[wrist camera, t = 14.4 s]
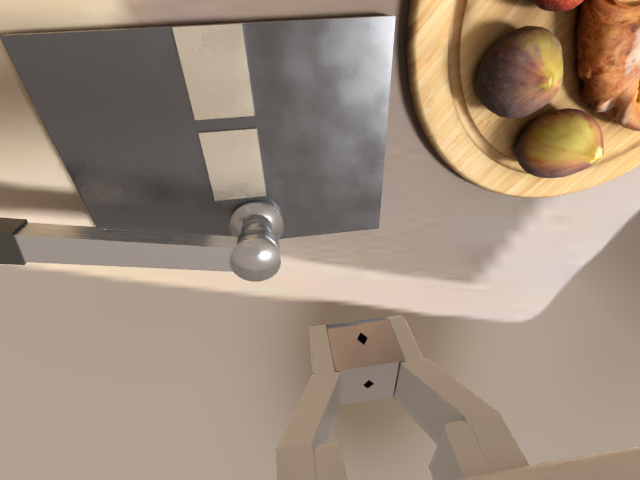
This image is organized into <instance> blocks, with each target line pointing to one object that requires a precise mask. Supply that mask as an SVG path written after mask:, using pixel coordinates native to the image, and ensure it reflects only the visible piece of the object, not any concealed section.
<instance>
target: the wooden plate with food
mask: <svg viewBox="0 0 640 480" xmlns="http://www.w3.org/2000/svg"><path fill="white" fill-rule="evenodd" d="M406 56H407V68H408V81H409V86H410V92H411V98H412V102H413V105H414V109H415V112H416V115H417V118H418V120H419V123H420V125H421V127H422V129H423V131H424V133H425V135H426V137H427V139H428V141H429V142H430V144H431V145H432V147H433V148H434V150H435V151H436V152H437V154H438V155H439V156H440V157H441V159H442V160H443V161H444V162H445V163H446V164H447V165H448V166H449V167H450V168H451V169H452V170H453V171H455V172H456V173H457V174H459V175H460V176H461V177H463V178H464V179H466V180H467V181H468V182H470V183H472V184H474V185H476V186H478V187H480V188H483V189H485V190H488V191H491V192H495V193H499V194H503V195H507V196H514V197H525V198H539V197H552V196H559V195H565V194H569V193H572V192H576V191H580V190H584V189H587V188H590V187H593V186H595V185H598V184H601V183H604V182H606V181H609V180H611V179H614V178H616V177H618V176H620V175H622V174H624V173H626V172H628V171H630V170H632V169H634V168H636V167H638V166H640V0H410V5H409V14H408V24H407V51H406Z"/></svg>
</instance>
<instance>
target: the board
mask: <svg viewBox="0 0 640 480" xmlns="http://www.w3.org/2000/svg"><path fill="white" fill-rule="evenodd" d="M395 17H396V16H392V15H380V16H360V17H340V18H320V19H300V20H280V21H260V22H240V23H220V24H200V25H179V26H159V27H139V28H119V29H99V30H79V31H59V32H39V33H19V34H9V35H2V36H0V37H1V39H2V41H3V43H4V45H5V47H6V49H7V51H8V53H9V55H10V57H11V59H12V61H13V63H14V65H15V67H16V69H17V71H18V73H19V75H20V77H21V79H22V81H23V83H24V85H25V87H26V89H27V91H28V93H29V95H30V97H31V99H32V101H33V102H34V104H35V106H36V108H37V110H38V112H39V114H40V116H41V118H42V120H43V122H44V124H45V126H46V128H47V130H48V132H49V134H50V136H51V138H52V140H53V142H54V144H55V146H56V148H57V150H58V152H59V154H60V156H61V158H62V160H63V162H64V164H65V166H66V168H67V170H68V172H69V174H70V175H71V177H72V179H73V181H74V183H75V185H76V187H77V189H78V191H79V193H80V195H81V197H82V199H83V201H84V203H85V205H86V207H87V209H88V211H89V213H90V215H91V217H92V219H93V221H94V223H95V225H96V227H100V228H115V229H130V230H144V231H159V232H174V233H189V234H204V235H219V236H233V237H237V236H238V235H240V234H241V233H243V232H245V231H248V230H254V229H258V230H264V231H267V232H269V233H271V234H272V235H273V236H274V237H275V238H276V239H277V240H279V239H282V238H292V237H301V236H310V235H320V234H329V233H339V232H348V231H358V230H367V229H376V228H379V219H380V207H381V194H382V181H383V169H384V156H385V144H386V131H387V118H388V106H389V93H390V81H391V68H392V55H393V43H394V30H395Z"/></svg>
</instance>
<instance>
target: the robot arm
mask: <svg viewBox="0 0 640 480" xmlns="http://www.w3.org/2000/svg"><path fill="white" fill-rule="evenodd" d="M309 332H310V348H311V358H312V368H313V374H314V375H312V376H311V378H310V380H309V382H308V384H307V386H306V389H305V390H304V392H303V394H302V397H301V399H300V401H299V403H298V405H297V407H296V409H295V411H294V413H293V415H292V418H291V419H290V422H289V424H288V426H287V428H286V430H285V432H284V434H283V436H282V439H281V441H280V442H279V445H278V447H277V449H276V462H277V480H347V478H346V472H345V467H344V461H343V456H342V451H341V446H340V445H338V444H337V443H336V442H329V439H330V436H331V433H332V430H333V427H334V425H335V422H336V419H337V416H338V412H339V410H340V405H346V404H350V403H356V402H362V401H368V400H375V399H383V398H391V397H394V399H395V400H396V402H398V404H399V405H400V406H401V407H402V408H403V409H404V410H405V411H406V412H407V413H408V414H409V415H410V416H411V417H412V419H413V420H414V421H415V422H416V423H417V424H418V425H419V426H420V427H421V428H422V429H423V430H424V431H425V432H426V433H427V434H428V435H429V437H430V438H431V439H432V440H433V441H434V442H435V443H436V444H437V448H436V450H435V453H434V455H433V458H432V460H431V462H430V465H429V469H430V472H431V475H432V478H433V480H640V445H639V446H633V447H628V448H623V449H617V450H612V451H606V452H601V453H595V454H590V455H585V456H579V457H574V458H569V459H563V460H557V461H552V462H547V463H542V464H536V465H530V466H529V464H528V462H527V460H526V459H525V457H524V455H523V454H522V452H521V450H520V448H519V446H518V445H517V443H516V441H515V439H514V438H513V436H512V434H511V432H510V431H509V429H508V427H507V425H506V424H505V422H504V420H503V418H502V417H501V415H500V413H499V412H498V411H496V410H495V409H494V408H492V407H491V406H490V405H488V404H487V403H486V402H484V401H483V400H482V399H480V398H479V397H478V396H476V395H475V394H474V393H473V392H471V391H470V390H469V389H467V388H466V387H465V386H463V385H462V384H461V383H459V382H458V381H457V380H456V379H454V378H453V377H452V376H450V375H449V374H448V373H446V372H445V371H444V370H442V369H441V368H440V367H439V366H437V365H436V364H435V363H433V362H432V361H431V360H429V359H423V357H422V355H421V353H420V351H419V348H418V346H417V344H416V342H415V339H414V337H413V335H412V333H411V330H410V328H409V326H408V324H407V322H406V319H405V317H404V316H402V315H399V316H391V317H381V318H375V319H368V320H361V321H356V322H350V323H341V324H332V325H326V326H325V325H323V326H314V327H310V328H309ZM328 442H329V443H328Z"/></svg>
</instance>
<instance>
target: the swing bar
mask: <svg viewBox="0 0 640 480" xmlns="http://www.w3.org/2000/svg"><path fill="white" fill-rule="evenodd" d="M26 262H37V263H59V264H80V265H102V266H123V267H145V268H166V269H188V270H209V271H231V272H234V273H235V274H236V275H237V276H239V277H240V278H242V279H245V280H248V281H263V280H266V279H269V278H271V277H272V276H274V275H275V274H276V273H277V271H278V270H279V268H280V264H281V260H280V245H279V242H278V240H277V239H276V238H275V237H274V236H273V235H272V234H271V233H269V232H267V231H264V230H258V229H254V230H248V231H245V232H243V233H241V234H240V235H238V236H237V237H233V236H219V235H204V234H189V233H174V232H159V231H144V230H130V229H115V228H100V227H85V226H70V225H56V224H41V223H28V222H27V219H12V218H0V264H16V265H25V264H26Z"/></svg>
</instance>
